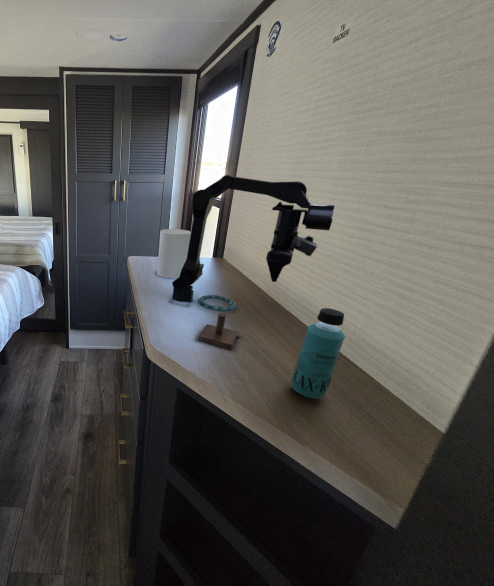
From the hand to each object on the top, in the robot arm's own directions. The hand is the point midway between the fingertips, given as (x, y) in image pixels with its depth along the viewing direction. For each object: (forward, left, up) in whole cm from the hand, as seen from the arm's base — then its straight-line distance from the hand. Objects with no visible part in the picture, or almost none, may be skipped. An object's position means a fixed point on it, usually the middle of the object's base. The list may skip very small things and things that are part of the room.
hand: (275, 277), depth 96 cm
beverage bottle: (+12, -36, -15) cm, 41 cm away
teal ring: (-16, +3, -14) cm, 22 cm away
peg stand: (-10, -21, -15) cm, 28 cm away
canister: (-43, +30, -15) cm, 55 cm away
